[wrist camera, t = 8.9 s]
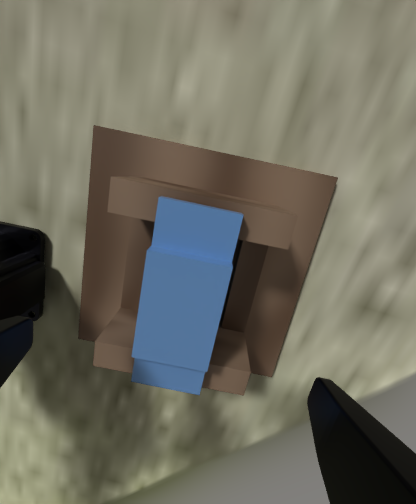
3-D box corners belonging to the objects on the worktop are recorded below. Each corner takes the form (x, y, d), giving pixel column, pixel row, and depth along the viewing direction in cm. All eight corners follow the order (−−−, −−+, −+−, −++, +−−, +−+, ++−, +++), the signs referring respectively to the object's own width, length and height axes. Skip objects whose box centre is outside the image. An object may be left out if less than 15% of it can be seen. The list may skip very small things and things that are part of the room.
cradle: (81, 334, 19) (35, 387, 14) (97, 126, 15) (40, 102, 10) (270, 372, 19) (287, 437, 14) (334, 177, 15) (387, 177, 10)
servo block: (156, 323, 18) (126, 392, 12) (178, 190, 15) (154, 198, 10) (205, 332, 18) (198, 407, 12) (235, 202, 15) (244, 217, 10)
